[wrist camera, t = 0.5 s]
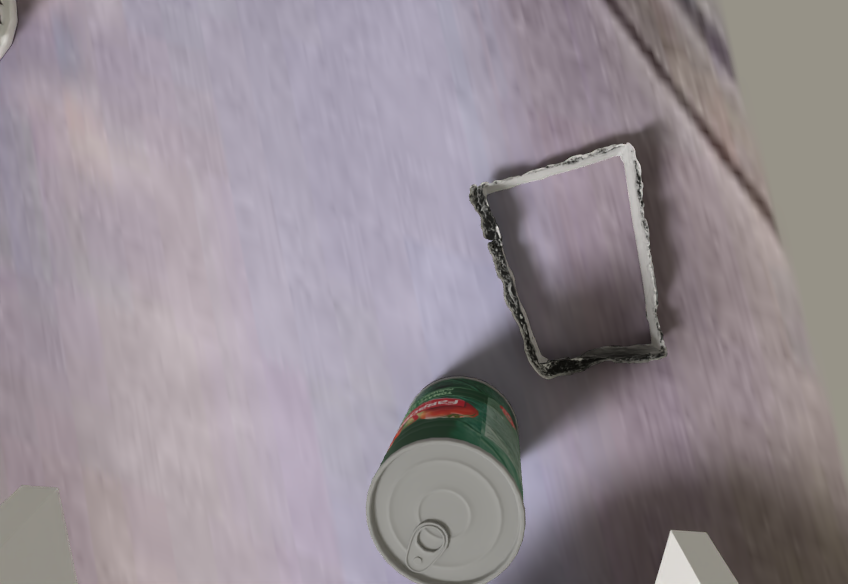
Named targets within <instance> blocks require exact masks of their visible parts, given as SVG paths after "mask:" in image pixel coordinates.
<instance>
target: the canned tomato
mask: <svg viewBox="0 0 848 584" xmlns="http://www.w3.org/2000/svg"><path fill="white" fill-rule="evenodd" d="M366 516H367V524H368V528H369V531H370V535H371V537H372V539H373V542H374V544H375V546H376V548H377V550H378V551H379V552H380V554H381V555H382V556H383V558H384V559H385V560H386V562H387V563H388V564H389V565H391V566H392V567H393V568H394V569H395V570H396V571H397V572H398V573H400V574H401V575H403V576H404V577H406V578H407V579H409V580H411V581H413V582H415V583H417V584H486V583H487V582H489V581H491V580H492V579H494V578H496V577H497V576H499V575H500V574H501V573H502V572H503V571H504V570H505V569H506V568H507V567H508V566H509V565H510V563H511V562H512V561H513V559H514V558H515V556H516V555H517V553H518V551H519V548H520V546H521V543H522V541H523V536H524V530H525V525H526V524H525V507H524V503H523V488H522V476H521V463H520V449H519V431H518V423H517V419H516V415H515V413H514V411H513V409H512V407H511V405H510V404H509V402H508V401H507V399H506V398H505V397H504V396H503V395H502V394H501V393H500V392H499V391H498V390H497V389H496V388H494V387H493V386H491V385H489V384H488V383H486V382H484V381H481V380H479V379H476V378H471V377H465V376H452V377H447V378H443V379H440V380H438V381H435V382H433V383H431V384H430V385H428V386H427V387H425V388H424V389H423V390H422V391H421V392H420V393H419V394H418V395H417V396H416V397H415V398H414V400H413V402H412V403H411V405H410V407H409V409H408V412H407V414H406V415H405V418H404V419H403V422H402V423H401V426H400V428H399V429H398V432H397V433H396V435H395V437H394V439H393V442H392V443H391V445H390V448H389V449H388V451H387V453H386V455H385V457H384V459H383V461H382V463H381V465H380V467H379V469H378V471H377V472H376V474H375V476H374V477H373V479H372V482H371V485H370V488H369V490H368V495H367V502H366Z"/></svg>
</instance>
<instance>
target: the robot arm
mask: <svg viewBox="0 0 848 584" xmlns="http://www.w3.org/2000/svg"><path fill="white" fill-rule="evenodd" d="M0 584H78V583H77V578H76V573H75V568H74V563H73V558H72V553H71V548H70V544H69V539H68V534H67V529H66V524H65V519H64V514H63V509H62V504H61V500H60V495H59V490H58V488H54V487H40V486H25V485H22V486H21V487H20V488H19V489H17V490H16V491H15V492H14V493H13V494H12V495H11V496H10V497H9V498H8V499H7V500H6V501H5V502H3V503H2V504H1V505H0ZM655 584H739V583H738V582H737V580H736V579H735V577H734V575H733V574H732V572H731V571H730V569H729V567H728V566H727V564H726V563H725V561H724V560H723V558H722V556H721V555H720V553H719V552H718V550H717V549H716V547H715V545H714V544H713V542H712V541H711V539H710V538H709V536H708V534H707V533H706V532H694V531H679V530H671V531H670V534H669V538H668V541H667V545H666V548H665V551H664V555H663V558H662V562H661V565H660V569H659V572H658V575H657V579H656V582H655Z"/></svg>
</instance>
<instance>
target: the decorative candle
mask: <svg viewBox="0 0 848 584" xmlns="http://www.w3.org/2000/svg"><path fill="white" fill-rule="evenodd" d="M17 23H18V17H17V4H16V0H0V60H1V59H2V57H3V56H4V54H5V53H6V52H7V50H8V49H9V48H10V46H11V45H12V42H13V38H14V34H15V31H16V27H17Z"/></svg>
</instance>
